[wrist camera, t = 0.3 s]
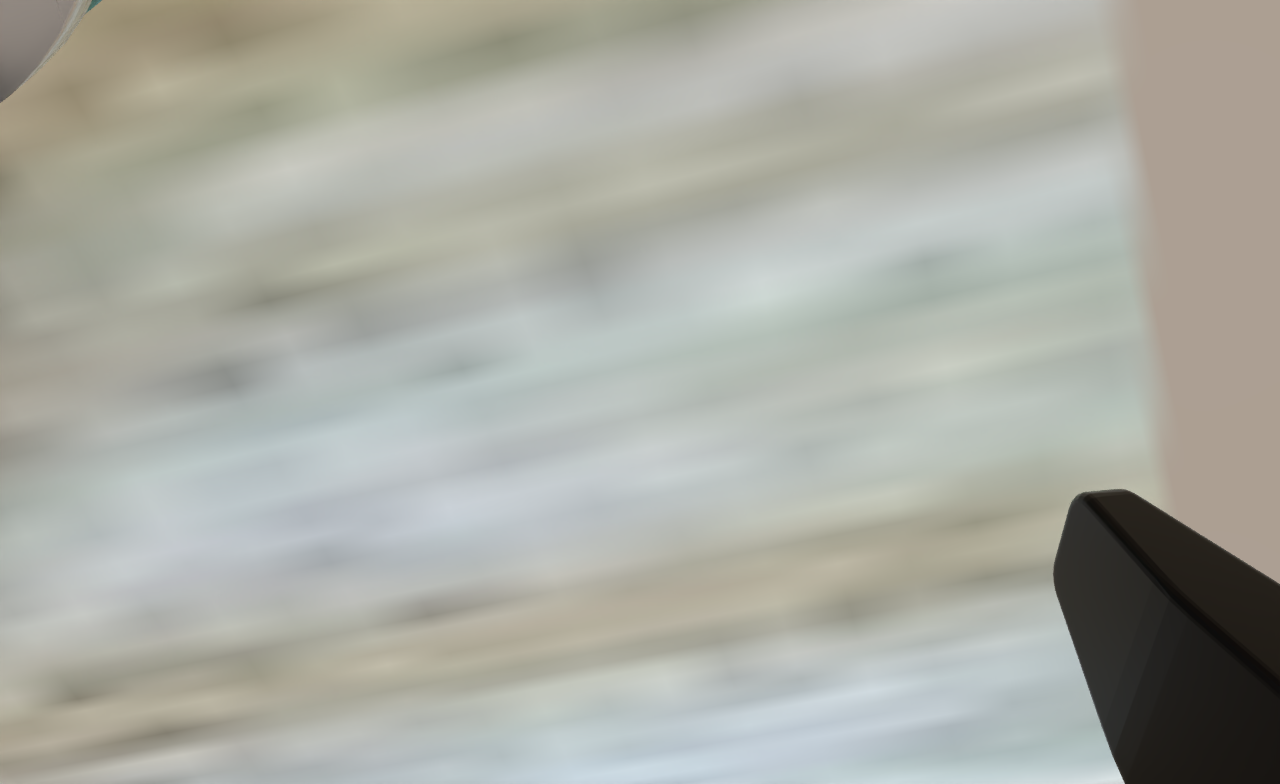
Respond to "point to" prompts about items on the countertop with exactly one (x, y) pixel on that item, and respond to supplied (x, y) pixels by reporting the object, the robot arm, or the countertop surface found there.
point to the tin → (34, 36)
